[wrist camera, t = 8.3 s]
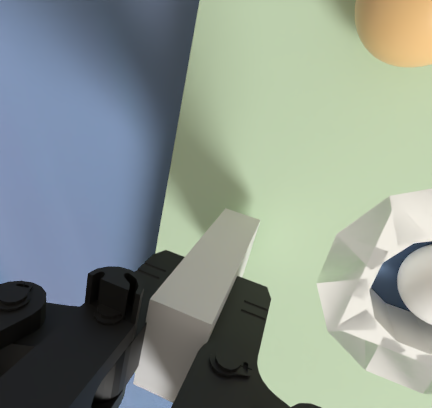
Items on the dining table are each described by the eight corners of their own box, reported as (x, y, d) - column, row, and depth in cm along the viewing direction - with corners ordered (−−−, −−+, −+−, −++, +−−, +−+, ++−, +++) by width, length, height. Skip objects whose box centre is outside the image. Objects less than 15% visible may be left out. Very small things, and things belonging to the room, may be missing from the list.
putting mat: (156, 339, 22) (134, 372, 19) (236, -57, 13) (216, -93, 11) (428, 461, 18) (445, 521, 15) (761, 22, 10) (912, -3, 7)
